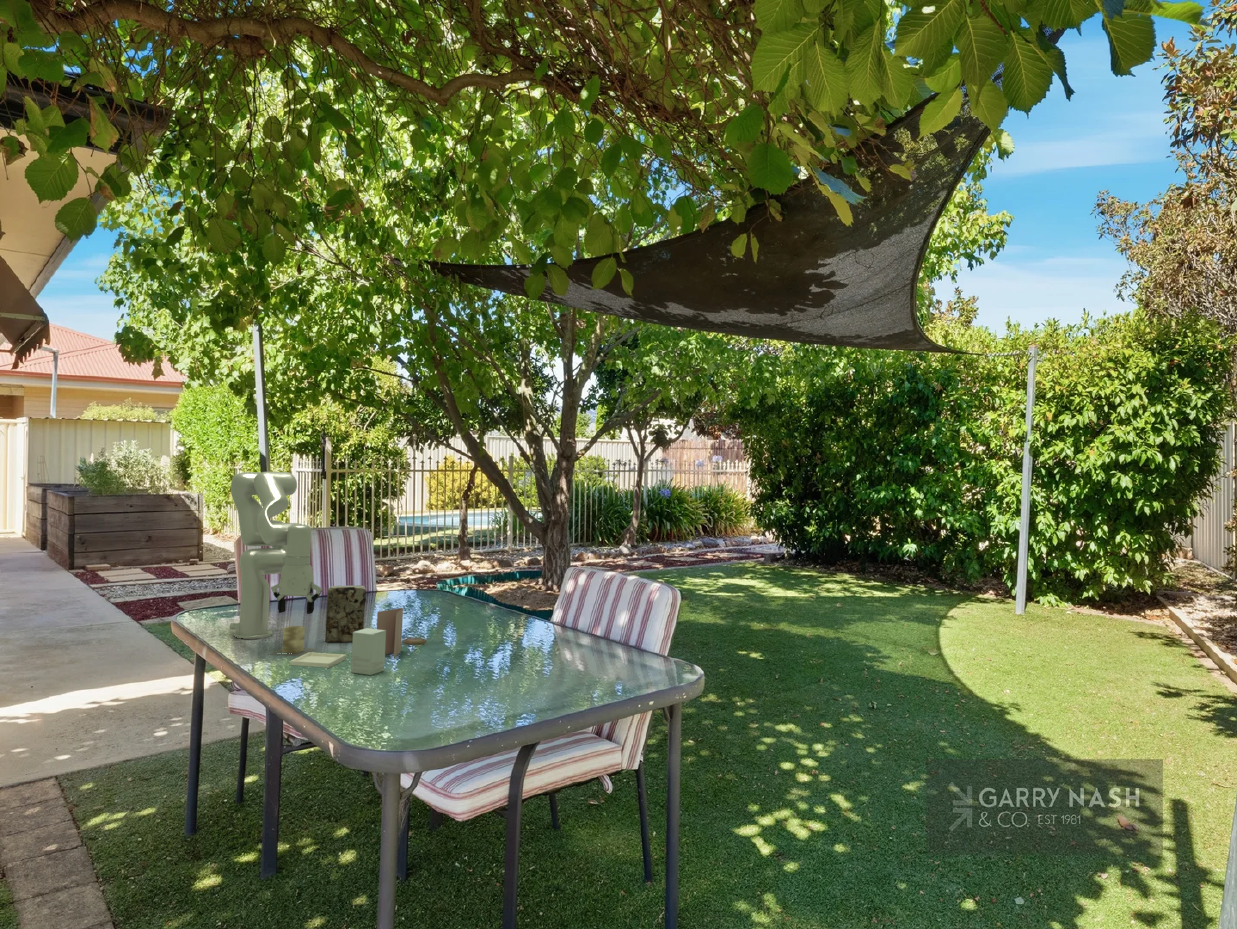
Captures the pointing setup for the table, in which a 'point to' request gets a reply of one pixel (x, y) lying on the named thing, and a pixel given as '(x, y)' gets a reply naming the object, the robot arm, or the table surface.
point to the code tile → (292, 653)
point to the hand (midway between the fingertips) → (295, 612)
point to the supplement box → (368, 651)
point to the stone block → (344, 612)
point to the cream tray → (318, 660)
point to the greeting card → (391, 629)
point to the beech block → (293, 639)
